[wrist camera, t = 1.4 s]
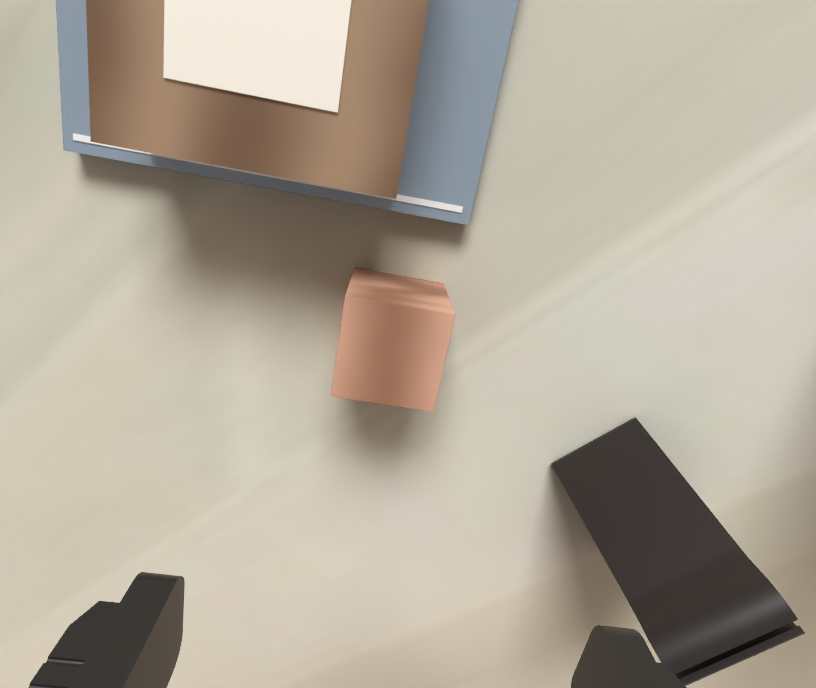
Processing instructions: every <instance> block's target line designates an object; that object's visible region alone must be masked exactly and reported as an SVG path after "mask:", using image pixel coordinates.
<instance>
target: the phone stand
mask: <svg viewBox="0 0 816 688" xmlns="http://www.w3.org/2000/svg"><path fill="white" fill-rule="evenodd" d="M551 464H552V466H553V468H554V469H555V471H556V473H557V475H558V477H559V478H560V480H561V482H562V484H563V486H564V487H565V489H566V491H567V493H568V494H569V496H570V498H571V500H572V502H573V503H574V505H575V507H576V509H577V511H578V512H579V514H580V516H581V518H582V520H583V521H584V523H585V525H586V527H587V528H588V530H589V532H590V534H591V536H592V537H593V539H594V541H595V543H596V545H597V546H598V548H599V550H600V552H601V554H602V555H603V557H604V559H605V561H606V562H607V564H608V566H609V568H610V570H611V571H612V573H613V575H614V577H615V579H616V580H617V582H618V584H619V586H620V588H621V589H622V591H623V593H624V595H625V596H626V598H627V600H628V602H629V604H630V606H631V607H632V609H633V611H634V613H635V615H636V617H637V619H638V620H639V622H640V624H641V626H642V628H643V630H644V632H645V634H646V636H647V638H648V640H649V642H650V643H651V645H652V647H653V649H654V651H655V652H656V654H657V656H658V657H659V659H660V661H661V663H665V664H666V665H667V667H668V668H669V669H670V670H671V671H672V672H673V673H674V674H675V675H676V677H677V678H678V679H679V680H680V681H681V682H682V683H683V684H684V686H686V685H689V684H691V683H693V682H695V681H698V680H700V679H702V678H704V677H707V676H709V675H711V674H714V673H716V672H718V671H720V670H723V669H725V668H727V667H729V666H732V665H734V664H736V663H739V662H741V661H743V660H745V659H748V658H750V657H752V656H755V655H757V654H759V653H761V652H764V651H766V650H768V649H770V648H773V647H775V646H777V645H780V644H782V643H784V642H786V641H789V640H791V639H793V638H795V637H798V636H800V635H802V634H804V633H805V632H804V631H803V630H802V629H801V627H800V626H796V625H795V624H794V623H793V621H796V620H798V619H797V617H796V616H795V614H794V613H793V611H792V610H791V609H790V607H789V606H788V604H787V603H786V602H785V600H784V599H783V598H782V596H781V595H780V594H779V592H778V591H777V590H776V589H775V587H774V586H773V585H772V584H771V583H770V581H769V580H768V579H767V578H766V577H765V576H764V575H763V573H762V572H761V571H760V570H759V569H758V568H757V567H756V566H755V565H754V564H753V563H752V561H751V560H750V559H749V558H748V557H747V556H746V554H745V553H744V552H743V551H742V550H741V548H740V547H739V546H738V545H737V543H736V542H735V541H734V540H733V538H732V537H731V536H730V535H729V533H728V532H727V531H726V530H725V528H724V527H723V526H722V525H721V523H720V522H719V521H718V520H717V518H716V517H715V516H714V515H713V513H712V512H711V511H710V510H709V508H708V507H707V506H706V505H705V503H704V502H703V501H702V500H701V498H700V497H699V496H698V495H697V493H696V492H695V491H694V490H693V488H692V487H691V486H690V485H689V483H688V482H687V481H686V480H685V478H684V477H683V476H682V475H681V473H680V472H679V471H678V470H677V468H676V467H675V466H674V465H673V463H672V462H671V461H670V460H669V458H668V457H667V456H666V455H665V453H664V452H663V451H662V450H661V448H660V447H659V446H658V445H657V443H656V442H655V441H654V440H653V438H652V437H651V436H650V435H649V433H648V432H647V431H646V430H645V428H644V427H643V426H642V425H641V423H640V422H639V421H638V420H637V419H636V418H633V419H631V420H629V421H628V422H626V423H624V424H622V425H620V426H619V427H617V428H615V429H613V430H611V431H609V432H608V433H606V434H604V435H602V436H600V437H599V438H597V439H595V440H593V441H591V442H589V443H588V444H586V445H584V446H582V447H580V448H578V449H577V450H575V451H573V452H571V453H569V454H568V455H566V456H564V457H562V458H560V459H558V460H557V461H555V462H553V463H551Z"/></svg>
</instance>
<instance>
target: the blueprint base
mask: <svg viewBox="0 0 816 688" xmlns="http://www.w3.org/2000/svg"><path fill="white" fill-rule="evenodd" d="M517 4H518V0H56V11H57V31H58V50H59V70H60V89H61V109H62V128H63V148H64V150H65V151H71V152H76V153H81V154H87V155H92V156H98V157H103V158H108V159H114V160H119V161H125V162H130V163H135V164H141V165H146V166H152V167H157V168H162V169H168V170H173V171H179V172H184V173H189V174H195V175H200V176H206V177H211V178H216V179H222V180H227V181H233V182H238V183H243V184H249V185H254V186H260V187H265V188H270V189H276V190H281V191H287V192H292V193H297V194H303V195H308V196H314V197H319V198H324V199H330V200H335V201H341V202H346V203H351V204H357V205H362V206H368V207H373V208H378V209H384V210H389V211H395V212H400V213H405V214H411V215H416V216H421V217H427V218H432V219H438V220H443V221H448V222H454V223H459V224H465V225H469V222H470V217H471V213H472V208H473V204H474V199H475V195H476V190H477V186H478V181H479V177H480V172H481V168H482V163H483V159H484V154H485V149H486V145H487V140H488V136H489V131H490V127H491V122H492V118H493V113H494V109H495V104H496V100H497V95H498V91H499V86H500V82H501V77H502V72H503V68H504V63H505V59H506V54H507V50H508V45H509V41H510V36H511V32H512V27H513V23H514V18H515V14H516V9H517Z"/></svg>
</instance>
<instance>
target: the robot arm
mask: <svg viewBox="0 0 816 688" xmlns="http://www.w3.org/2000/svg"><path fill="white" fill-rule="evenodd" d="M183 607H184V578H183V577H182V576H173V575H164V574H155V573H146V572H141V573H139V574H138V575H137V576H136V578H135V579H134V580H133V582H132V584H131V585H130V587H129V589H128V590H127V592H126V594H125V595H124V597H123V599H122V600H121V602H120V603H114V602H105V601H99V602H98V603H96V604H95V605H94V606H93V607H91V608H90V609H89V610H88V611H87V612H85V613H84V614H83V615H82V616H80V617H79V618H78V619H77V620H76V621H74V622H73V623H72V624H71V625H69V627H68V628H67V630H66V631H65V633H64V634H63V636H62V637H61V639H60V640H59V642H58V643H57V644H56V646H55V647H54V649H53V650H52V652H51V653H50V655H49V656H48V660H47V662H46V663H43V665H42V666H41V668H40V669H39V671H38V672H37V674H36V675H35V677H34V678H33V680H32V681H31V682H30V686H29V688H166V687H167V685H168V683H169V680H170V678H171V675H172V673H173V670H174V668H175V665H176V662H177V658H178V655H179V651H180V646H181V641H182V633H183ZM571 688H686V687H685V686H684V684H683V683H682V682H681V681H680V680H679V679H678V678H677V677H676V675H675V674H674V673H673V672H672V671H671V670H670V669H669V668H668V667H667V665H666V664H665V663H657V662H655V660H654V658H653V656H652V654H651V652H650V650H649V648H648V646H647V644H646V642H645V641H644V639H643V637H642V636H641V634H640V633H639V632H638V631H636V630H634V629H626V628H617V627H609V626H600V625H598V626H596V627H594V628H593V630H592V632H591V634H590V637H589V639H588V641H587V644H586V646H585V648H584V651H583V653H582V655H581V658H580V660H579V663H578V665H577V667H576V670H575V672H574V674H573V677H572V682H571Z"/></svg>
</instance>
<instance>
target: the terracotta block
mask: <svg viewBox="0 0 816 688" xmlns="http://www.w3.org/2000/svg"><path fill="white" fill-rule="evenodd" d="M454 319H455V312H454V310H453V307H452V305H451V302H450V300H449V297H448V294H447V292H446V289H445V287H444V284H443V283H439V282H433V281H427V280H421V279H416V278H410V277H404V276H398V275H393V274H387V273H381V272H375V271H370V270H364V269H358V268H355V269H354V272H353V275H352V277H351V280H350V283H349V286H348V289H347V292H346V295H345V300H344V307H343V314H342V321H341V328H340V334H339V341H338V348H337V355H336V362H335V369H334V376H333V383H332V390H331V397H338V398H344V399H351V400H357V401H364V402H371V403H377V404H384V405H391V406H397V407H404V408H411V409H417V410H424V411H430V412H434V407H435V403H436V399H437V394H438V390H439V385H440V381H441V376H442V372H443V367H444V363H445V359H446V354H447V350H448V345H449V341H450V336H451V332H452V327H453V323H454Z"/></svg>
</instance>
